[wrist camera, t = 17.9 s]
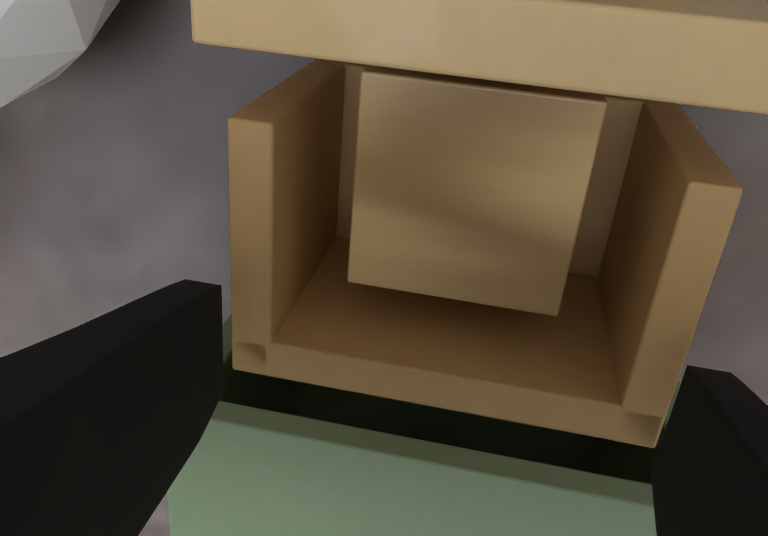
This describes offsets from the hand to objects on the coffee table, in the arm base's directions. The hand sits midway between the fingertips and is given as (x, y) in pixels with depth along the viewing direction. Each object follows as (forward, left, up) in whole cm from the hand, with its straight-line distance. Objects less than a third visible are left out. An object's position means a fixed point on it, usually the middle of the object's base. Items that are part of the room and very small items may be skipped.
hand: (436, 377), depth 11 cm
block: (0, 0, -4) cm, 4 cm away
